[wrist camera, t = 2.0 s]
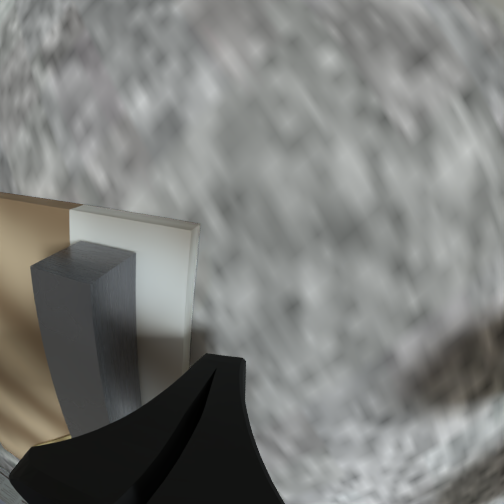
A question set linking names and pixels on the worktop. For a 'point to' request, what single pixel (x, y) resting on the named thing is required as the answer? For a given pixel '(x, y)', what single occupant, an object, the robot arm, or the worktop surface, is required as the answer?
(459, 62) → the worktop surface
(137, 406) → the swing bar
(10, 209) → the door board
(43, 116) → the worktop surface
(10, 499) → the supplement box
